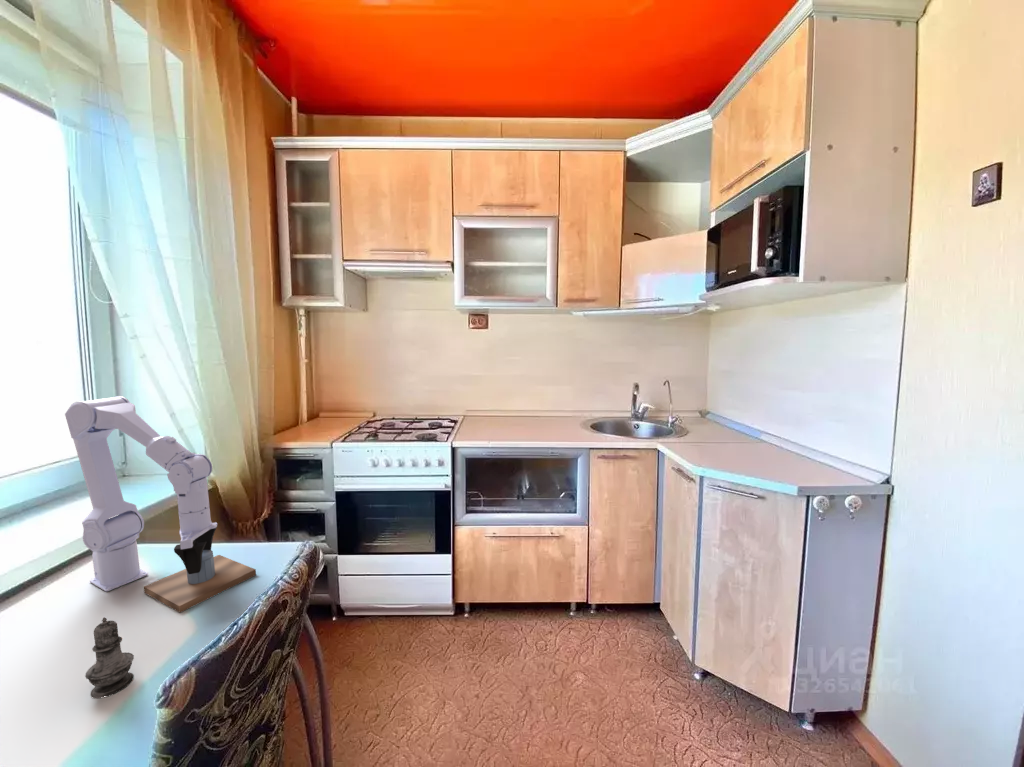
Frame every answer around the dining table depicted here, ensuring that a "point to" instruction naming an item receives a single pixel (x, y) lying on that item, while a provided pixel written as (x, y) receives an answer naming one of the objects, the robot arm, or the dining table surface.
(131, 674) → the dark grey tiered piece
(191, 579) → the cap
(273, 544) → the dining table surface
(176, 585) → the walnut board
